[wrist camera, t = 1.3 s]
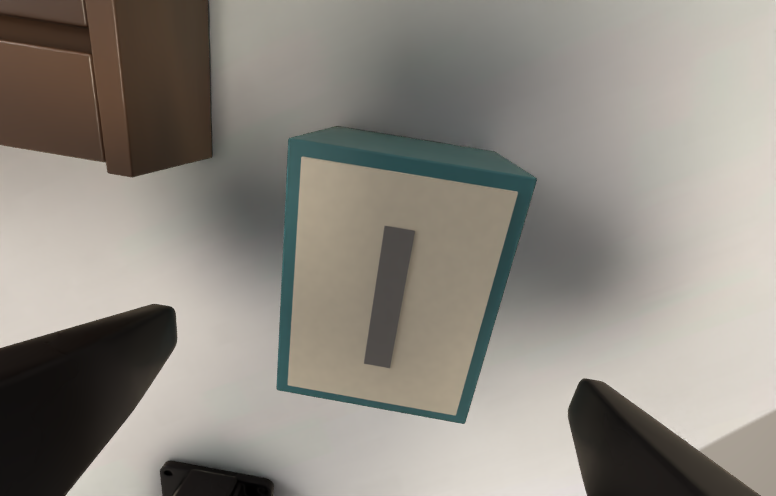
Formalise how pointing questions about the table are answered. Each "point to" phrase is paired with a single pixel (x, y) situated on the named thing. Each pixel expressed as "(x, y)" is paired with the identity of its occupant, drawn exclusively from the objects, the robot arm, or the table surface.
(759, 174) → the table surface
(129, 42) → the rack
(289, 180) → the tissue box
